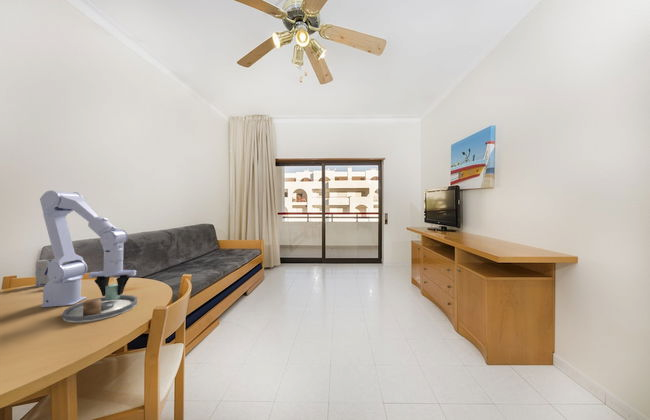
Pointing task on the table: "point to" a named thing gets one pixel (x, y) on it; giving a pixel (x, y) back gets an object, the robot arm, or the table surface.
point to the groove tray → (107, 309)
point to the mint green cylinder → (111, 292)
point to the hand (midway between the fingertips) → (112, 294)
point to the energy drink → (42, 272)
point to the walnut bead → (92, 307)
